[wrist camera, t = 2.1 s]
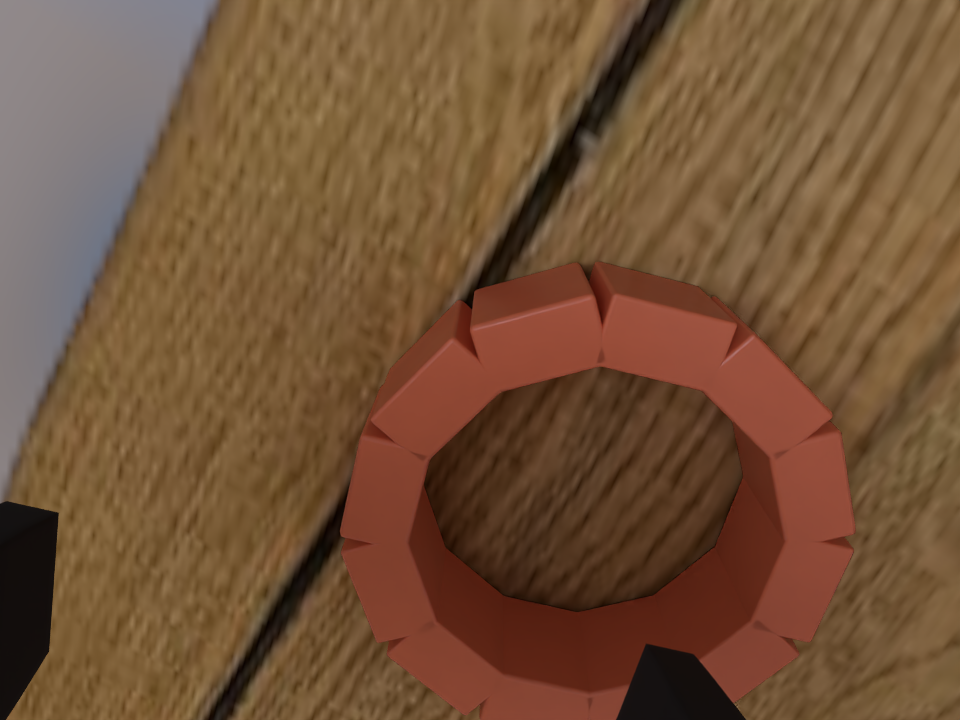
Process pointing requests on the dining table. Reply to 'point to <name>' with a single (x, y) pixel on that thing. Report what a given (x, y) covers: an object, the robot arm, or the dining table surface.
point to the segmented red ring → (622, 626)
